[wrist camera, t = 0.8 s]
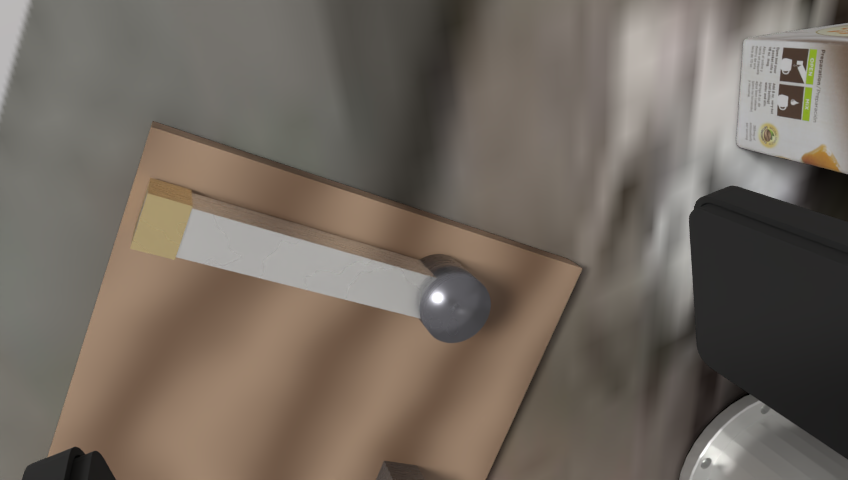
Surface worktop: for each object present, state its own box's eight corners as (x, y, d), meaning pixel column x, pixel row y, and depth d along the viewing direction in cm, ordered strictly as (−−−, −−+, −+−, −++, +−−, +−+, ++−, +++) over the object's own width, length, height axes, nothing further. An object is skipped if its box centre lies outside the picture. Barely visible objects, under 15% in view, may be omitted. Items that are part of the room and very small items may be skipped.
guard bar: (474, 263, 32) (501, 286, 29) (449, 321, 33) (474, 349, 30) (153, 165, 26) (151, 184, 23) (130, 240, 26) (124, 266, 24)
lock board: (567, 258, 36) (582, 268, 35) (432, 557, 40) (441, 576, 38) (152, 120, 27) (151, 126, 25) (25, 527, 30) (18, 550, 29)
